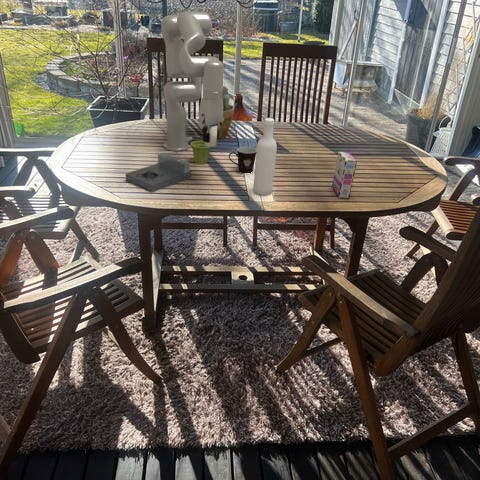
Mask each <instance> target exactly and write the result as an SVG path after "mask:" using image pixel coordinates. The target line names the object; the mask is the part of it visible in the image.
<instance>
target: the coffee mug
mask: <svg viewBox="0 0 480 480" xmlns="http://www.w3.org/2000/svg"><path fill="white" fill-rule="evenodd" d="M256 152H257V148H254V147H250V146H240V147H238V148H237V152H235V151H233V152H230V153H228V160H230V162H231V163H232V164H234V165H236V166H237V168H238V169H237V170H239V171H238V173H240V172H241V173H240V174H243V173H250V174H252V173H253V172H252V171H253V170H254V168H255V163H256ZM231 155H235V156H236V157H237V162H235V161H234V160H232V159H231V157H230V156H231ZM251 172H252V173H251Z"/></svg>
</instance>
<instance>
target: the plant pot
mask: <svg viewBox="0 0 480 480" xmlns="http://www.w3.org/2000/svg"><path fill="white" fill-rule="evenodd" d="M190 146H191V148H192V153H193V162H194V163H196V164H199V165H205V164H207V163H208V159H209V154H210V150H211V147H209V146H206V145H205V142H204V141H203V140H194V141H192V142H190Z"/></svg>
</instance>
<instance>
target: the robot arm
mask: <svg viewBox="0 0 480 480" xmlns="http://www.w3.org/2000/svg"><path fill="white" fill-rule="evenodd" d="M160 25H161V26H160V28H161V34H162V38H163V41H164V44H165V45H164V46H165V57H166V59H165V61H166V62H165V63H166V74H167V76H168V77H169V78H171V79H189V80H184V81H183V80H181V81H180V80H177V81H174V80H173V81H169V82H167V83H166V84H165V85H164V88H163V95H164V99H165V110H166V112H165V114H166V117H165V118H166V142H164V143H163V148H164V149H166V150H168V151H173V152H182V151H187V150H188V149H190V144H189V142H190V141H192V140H193V137H192V136H187V111H186V109H185V108H184V106H183V105H182V104H183V103H195V102H199V101H200V103H199V104H200V105H199V112H198V124H197V127H199V129H200V130H201V132H202V141H204V142H207V143H209V142H210V133H209V130H210V125H214V124H216V125H217V141H219V139H220V138H219V130H220V126H221V125H222V123H223V121H224V118H223V98H222V93H223V86H224V72H225V70H224V67H225V66H224V62H223V61H220V60H219V59H218V57H216V56H212V55H211V56H205V55H204V56H202V55H201V56H196V55H195V56H192V54H194V53H197V52H198V51H200V50H201V49H202V48H204V46H205V44H206V41H207V40H206V36H207V35H209V34H210V33H211V32H212V30H213V21H212V18H211V16H210V15H209V13H207V12H205V11H193V10H192V11H187V10H185V11H182V12H181V13H179V14H172V15H170V14H169V15H166V16H163V18H162V19H161V24H160ZM202 79H203V80H202ZM202 86H203V87H202ZM201 97H202V98H201ZM200 99H201V100H200ZM206 126H207V129H206Z"/></svg>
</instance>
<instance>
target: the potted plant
mask: <svg viewBox="0 0 480 480" xmlns="http://www.w3.org/2000/svg"><path fill="white" fill-rule="evenodd" d="M228 93H229V89H228V87H227V86H224V85H223V93H222V98H223V118H224V121H223V123H222V125H221V126H220V130H219V139H223V137H224V138H226V137H227V134H228V132H229V129H230V126H231V124H232V120H233V117H234V114H235V113H234V112H235V106H234V105H232V104H229V103H230V99H231V98H230V95H229V94H228ZM225 136H226V137H225Z"/></svg>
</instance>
